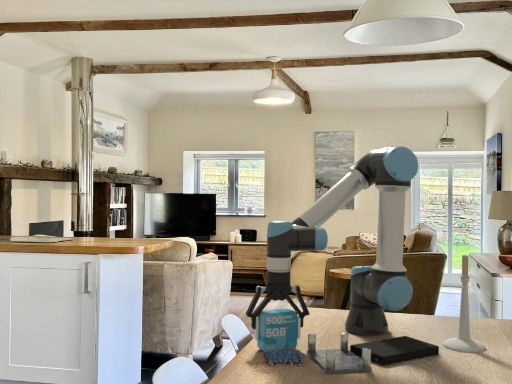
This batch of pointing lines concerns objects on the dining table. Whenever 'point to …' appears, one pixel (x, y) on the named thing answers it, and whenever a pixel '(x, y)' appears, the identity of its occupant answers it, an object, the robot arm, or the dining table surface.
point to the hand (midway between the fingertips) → (277, 338)
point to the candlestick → (464, 319)
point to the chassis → (339, 357)
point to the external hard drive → (396, 350)
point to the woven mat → (282, 358)
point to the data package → (277, 330)
